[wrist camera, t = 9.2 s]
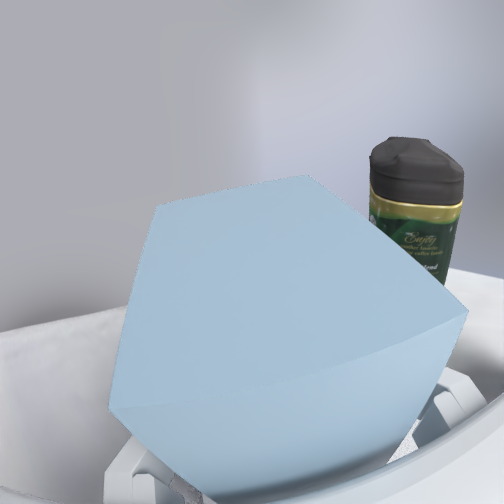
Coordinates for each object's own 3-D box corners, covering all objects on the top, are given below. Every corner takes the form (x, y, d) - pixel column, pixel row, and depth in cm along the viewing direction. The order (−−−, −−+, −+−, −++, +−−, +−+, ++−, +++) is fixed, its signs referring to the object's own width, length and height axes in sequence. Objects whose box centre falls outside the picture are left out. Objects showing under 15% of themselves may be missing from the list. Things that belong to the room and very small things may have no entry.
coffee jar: (432, 355, 24) (480, 160, 14) (356, 351, 26) (369, 151, 17) (424, 293, 31) (445, 135, 22) (363, 289, 34) (366, 129, 25)
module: (256, 527, 9) (108, 409, 3) (232, 410, 15) (159, 199, 9) (355, 500, 9) (468, 310, 3) (312, 390, 15) (300, 169, 9)
